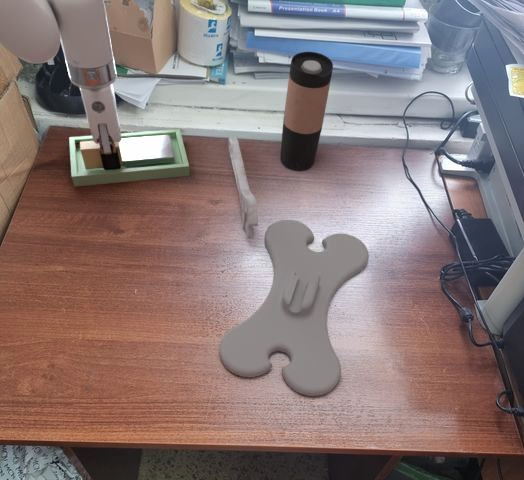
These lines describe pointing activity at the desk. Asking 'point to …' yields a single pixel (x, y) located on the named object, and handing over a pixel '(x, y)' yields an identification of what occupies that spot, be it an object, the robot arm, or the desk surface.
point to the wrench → (243, 189)
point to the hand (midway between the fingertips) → (111, 162)
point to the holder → (296, 309)
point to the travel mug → (305, 109)
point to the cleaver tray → (129, 172)
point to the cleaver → (131, 151)
